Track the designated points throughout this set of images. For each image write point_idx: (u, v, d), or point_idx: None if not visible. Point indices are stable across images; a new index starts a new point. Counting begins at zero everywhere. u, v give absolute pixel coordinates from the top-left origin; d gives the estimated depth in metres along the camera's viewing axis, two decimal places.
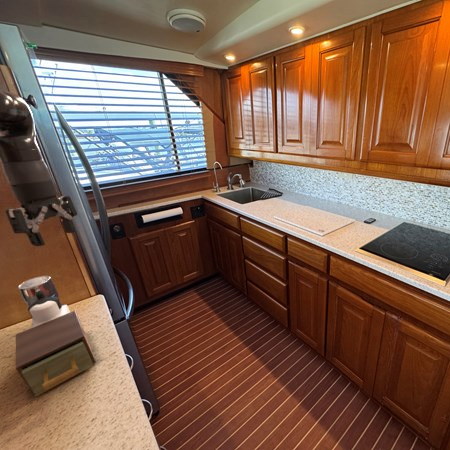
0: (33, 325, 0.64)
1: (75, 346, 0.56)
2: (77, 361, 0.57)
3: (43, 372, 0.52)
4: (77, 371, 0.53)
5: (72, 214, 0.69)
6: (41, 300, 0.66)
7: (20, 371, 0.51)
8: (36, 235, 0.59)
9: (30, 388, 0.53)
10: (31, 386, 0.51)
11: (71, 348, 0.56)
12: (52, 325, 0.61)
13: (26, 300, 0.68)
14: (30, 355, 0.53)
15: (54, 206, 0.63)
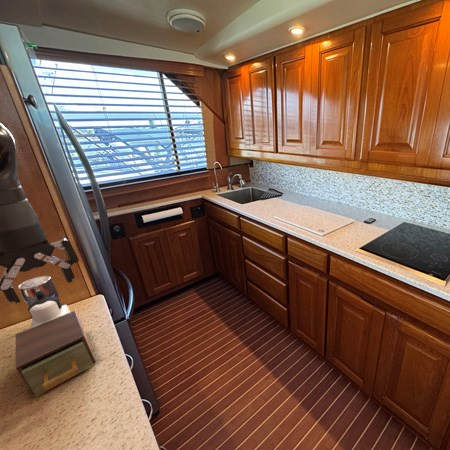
0: (33, 325, 0.64)
1: (75, 346, 0.56)
2: (77, 361, 0.57)
3: (43, 372, 0.52)
4: (77, 371, 0.53)
5: (72, 261, 0.56)
6: (41, 300, 0.66)
7: (20, 371, 0.51)
8: (8, 291, 0.49)
9: (30, 388, 0.53)
10: (31, 386, 0.51)
11: (71, 348, 0.56)
12: (52, 325, 0.61)
13: (26, 300, 0.68)
14: (30, 355, 0.53)
15: (37, 256, 0.50)
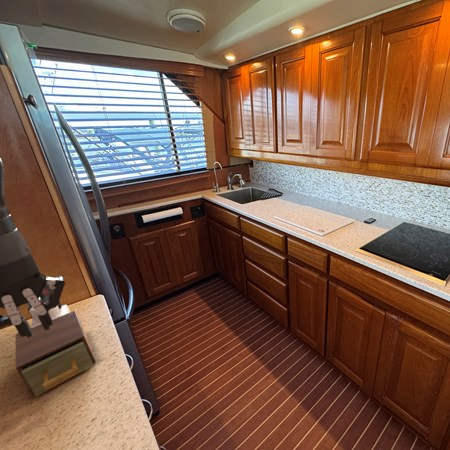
0: (33, 325, 0.64)
1: (75, 346, 0.56)
2: (77, 361, 0.57)
3: (43, 372, 0.52)
4: (77, 371, 0.53)
5: (49, 306, 0.49)
6: None
7: (20, 371, 0.51)
8: (20, 326, 0.46)
9: (30, 388, 0.53)
10: (31, 386, 0.51)
11: (71, 348, 0.56)
12: (52, 325, 0.61)
13: None
14: (30, 355, 0.53)
15: (26, 292, 0.45)
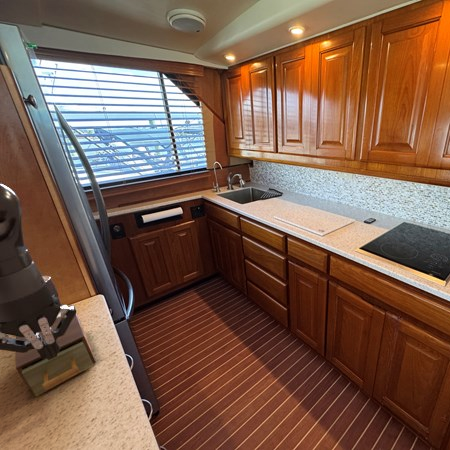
0: None
1: (75, 346, 0.56)
2: (77, 361, 0.57)
3: (43, 372, 0.52)
4: (77, 371, 0.53)
5: (57, 334, 0.51)
6: None
7: (20, 371, 0.51)
8: (42, 350, 0.49)
9: (30, 388, 0.53)
10: (31, 386, 0.51)
11: (71, 348, 0.56)
12: (52, 325, 0.61)
13: None
14: (30, 355, 0.53)
15: (41, 321, 0.47)
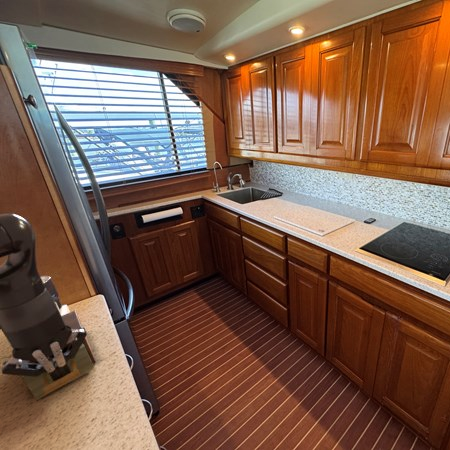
0: None
1: None
2: (78, 364, 0.56)
3: (43, 375, 0.52)
4: (78, 374, 0.52)
5: (68, 357, 0.52)
6: None
7: None
8: (53, 373, 0.50)
9: None
10: (31, 390, 0.51)
11: None
12: None
13: None
14: None
15: (53, 345, 0.48)
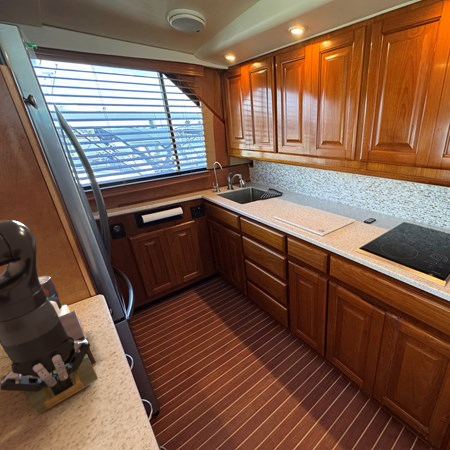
0: None
1: None
2: (81, 375, 0.53)
3: (45, 388, 0.49)
4: (81, 387, 0.50)
5: None
6: None
7: None
8: (55, 387, 0.48)
9: None
10: (32, 403, 0.48)
11: None
12: None
13: None
14: None
15: (55, 358, 0.46)
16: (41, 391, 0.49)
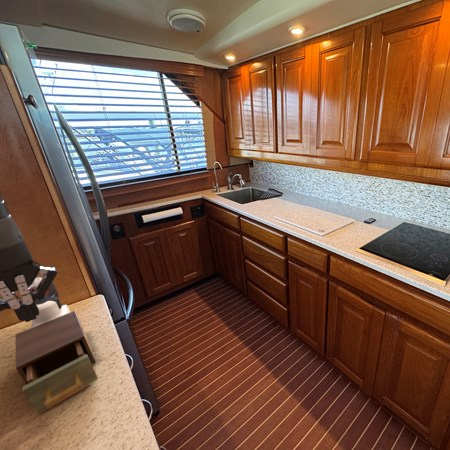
0: (33, 325, 0.64)
1: (79, 359, 0.53)
2: (81, 375, 0.53)
3: (45, 388, 0.49)
4: (81, 387, 0.50)
5: (36, 296, 0.48)
6: (41, 300, 0.66)
7: (20, 371, 0.51)
8: (19, 310, 0.47)
9: None
10: (32, 403, 0.48)
11: (75, 362, 0.52)
12: (52, 325, 0.61)
13: None
14: (30, 355, 0.53)
15: (18, 279, 0.45)
16: (41, 391, 0.49)
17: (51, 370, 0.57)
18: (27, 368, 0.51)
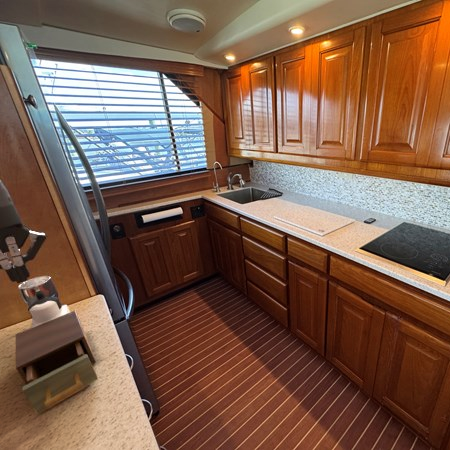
0: (33, 325, 0.64)
1: (79, 359, 0.53)
2: (81, 375, 0.53)
3: (45, 388, 0.49)
4: (81, 387, 0.50)
5: (26, 258, 0.51)
6: (41, 300, 0.66)
7: (20, 371, 0.51)
8: (10, 271, 0.50)
9: None
10: (32, 403, 0.48)
11: (75, 362, 0.52)
12: (52, 325, 0.61)
13: (26, 300, 0.68)
14: (30, 355, 0.53)
15: (9, 240, 0.48)
16: (41, 391, 0.49)
17: (51, 370, 0.57)
18: (27, 368, 0.51)
